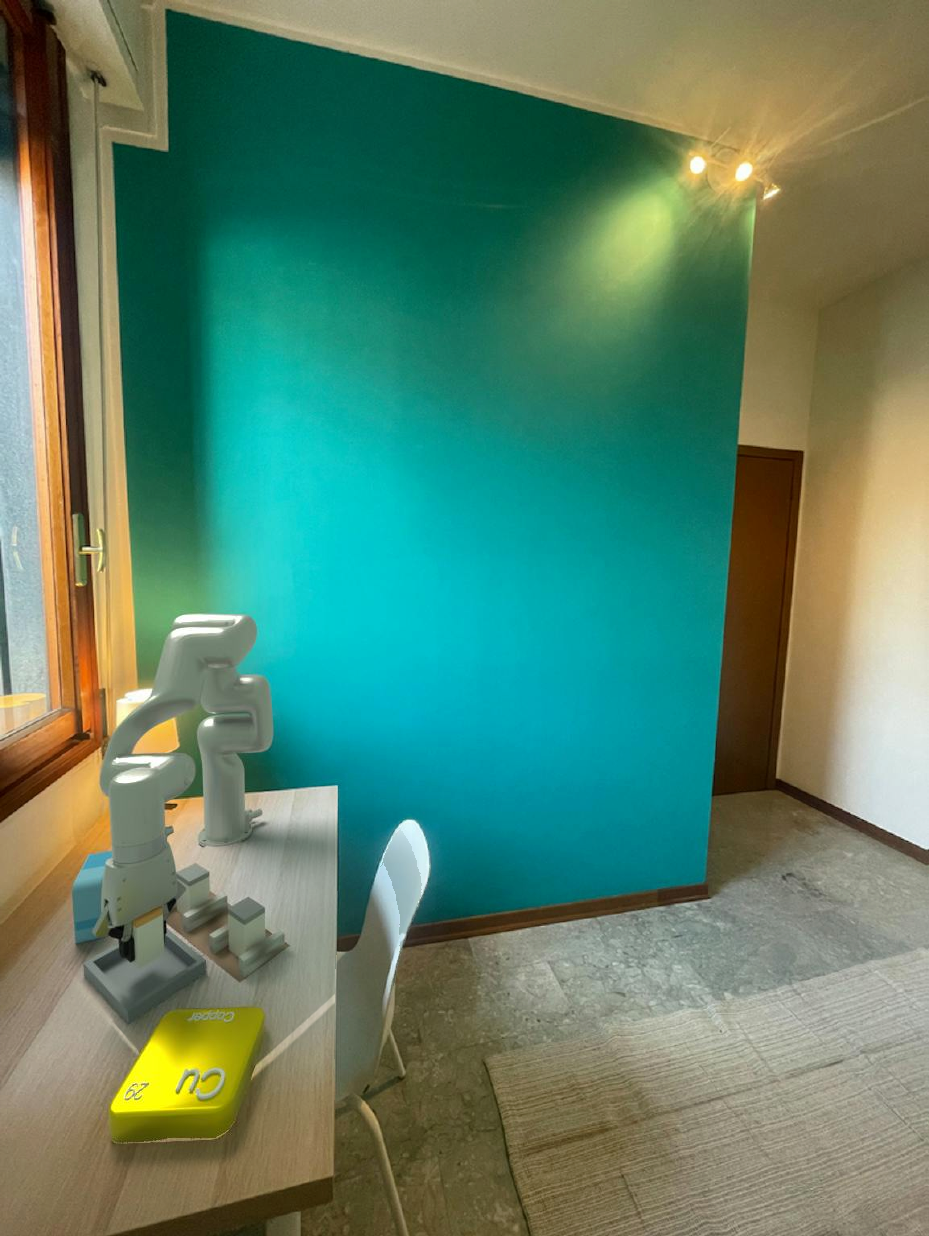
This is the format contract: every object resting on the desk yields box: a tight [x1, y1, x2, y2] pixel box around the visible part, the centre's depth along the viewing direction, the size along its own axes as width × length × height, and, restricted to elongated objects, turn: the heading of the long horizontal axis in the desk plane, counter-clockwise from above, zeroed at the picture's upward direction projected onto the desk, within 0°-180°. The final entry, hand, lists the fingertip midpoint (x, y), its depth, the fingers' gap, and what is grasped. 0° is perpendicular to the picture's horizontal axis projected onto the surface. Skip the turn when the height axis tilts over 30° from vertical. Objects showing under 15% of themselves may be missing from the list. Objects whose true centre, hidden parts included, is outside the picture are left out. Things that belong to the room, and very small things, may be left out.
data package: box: [71, 850, 112, 944], centre depth 97 cm, size 12×4×12 cm, turn 24°
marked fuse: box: [131, 907, 164, 969], centre depth 84 cm, size 4×5×8 cm
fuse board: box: [166, 890, 291, 983], centre depth 96 cm, size 10×29×4 cm, turn 56°
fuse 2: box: [228, 896, 266, 957], centre depth 91 cm, size 4×5×8 cm
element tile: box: [107, 1006, 266, 1143], centre depth 69 cm, size 15×15×5 cm
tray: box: [82, 928, 207, 1025], centre depth 85 cm, size 12×16×3 cm
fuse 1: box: [176, 862, 211, 914], centre depth 100 cm, size 4×5×8 cm
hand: (143, 948), depth 84 cm, fingers closed on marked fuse, 4 cm apart
